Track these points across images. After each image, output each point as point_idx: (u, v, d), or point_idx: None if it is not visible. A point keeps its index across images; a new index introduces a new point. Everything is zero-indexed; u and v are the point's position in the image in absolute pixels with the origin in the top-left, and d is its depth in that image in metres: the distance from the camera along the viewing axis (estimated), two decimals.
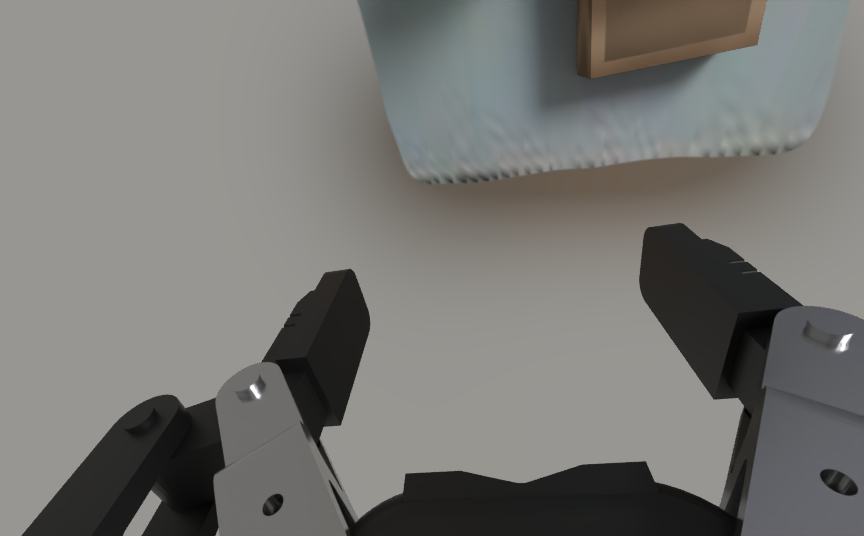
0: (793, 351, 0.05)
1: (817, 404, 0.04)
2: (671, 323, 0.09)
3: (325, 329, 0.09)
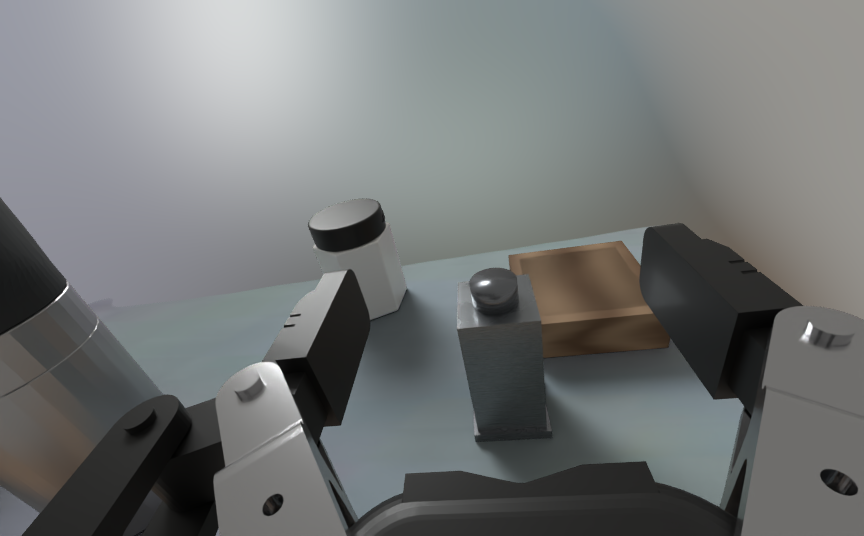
0: (793, 351, 0.05)
1: (817, 404, 0.04)
2: (671, 323, 0.09)
3: (325, 329, 0.09)
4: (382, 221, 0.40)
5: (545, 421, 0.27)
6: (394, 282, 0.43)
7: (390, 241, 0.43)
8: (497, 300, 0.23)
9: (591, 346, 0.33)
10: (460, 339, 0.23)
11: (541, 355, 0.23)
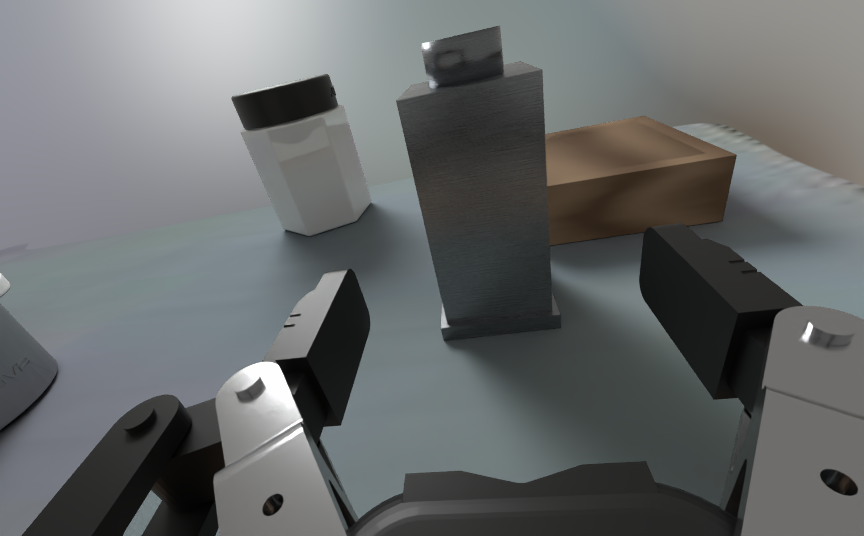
0: (793, 351, 0.05)
1: (817, 404, 0.04)
2: (671, 323, 0.09)
3: (325, 329, 0.09)
4: (330, 94, 0.31)
5: (550, 299, 0.17)
6: (350, 183, 0.34)
7: (345, 129, 0.33)
8: (466, 49, 0.13)
9: (612, 223, 0.23)
10: (404, 126, 0.14)
11: (543, 155, 0.14)
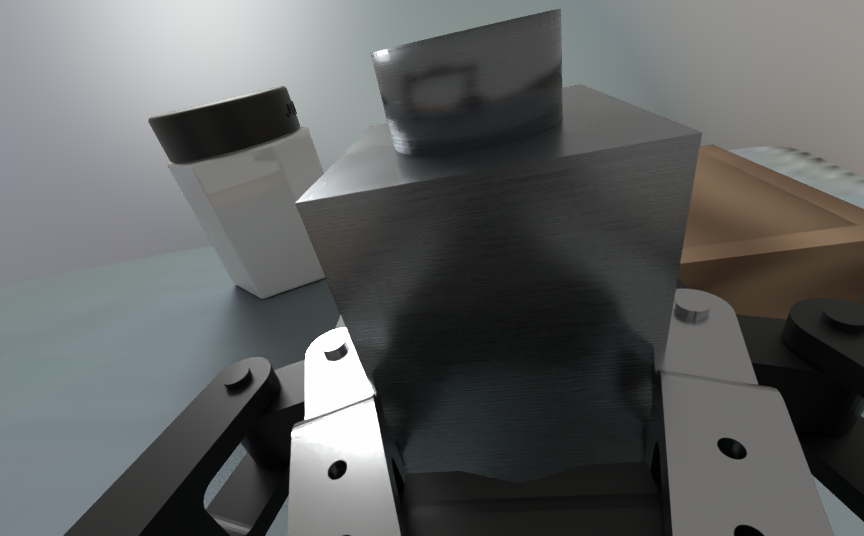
0: None
1: (700, 379, 0.05)
2: None
3: None
4: (287, 114, 0.23)
5: None
6: None
7: (309, 158, 0.25)
8: (478, 69, 0.05)
9: None
10: (323, 258, 0.05)
11: (663, 325, 0.06)
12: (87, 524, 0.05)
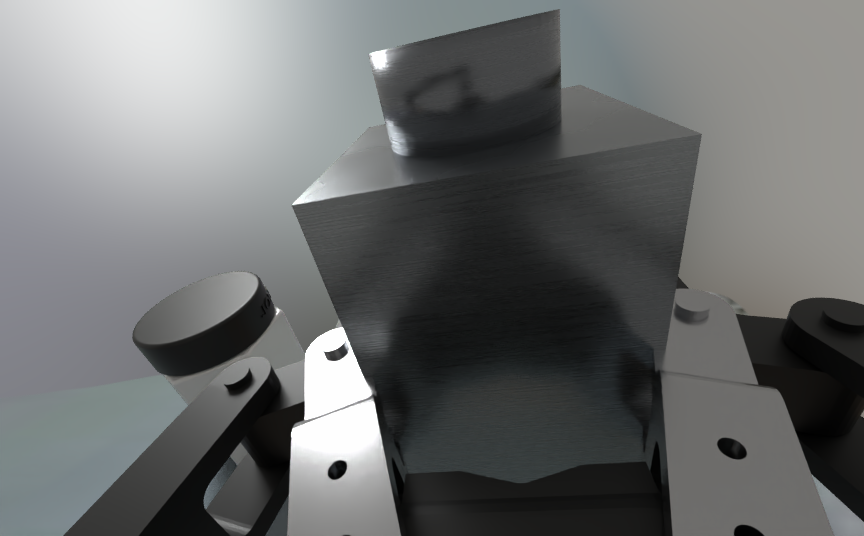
0: None
1: (700, 378, 0.05)
2: None
3: None
4: (261, 316, 0.25)
5: None
6: None
7: (284, 339, 0.27)
8: (477, 71, 0.05)
9: None
10: (320, 260, 0.05)
11: (662, 328, 0.06)
12: (87, 524, 0.05)
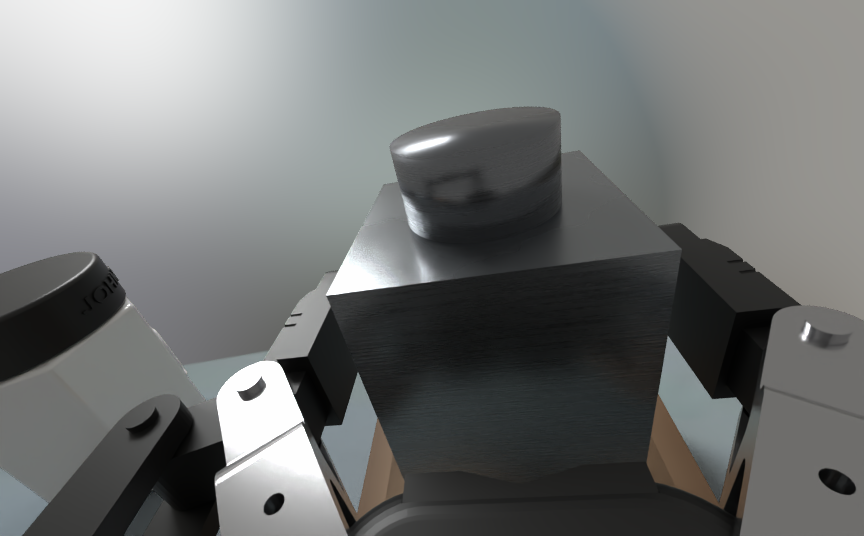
0: (791, 350, 0.05)
1: (815, 403, 0.04)
2: (670, 323, 0.09)
3: (326, 328, 0.09)
4: (81, 313, 0.17)
5: None
6: None
7: (135, 346, 0.20)
8: (488, 179, 0.06)
9: None
10: (348, 338, 0.06)
11: (651, 395, 0.06)
12: None
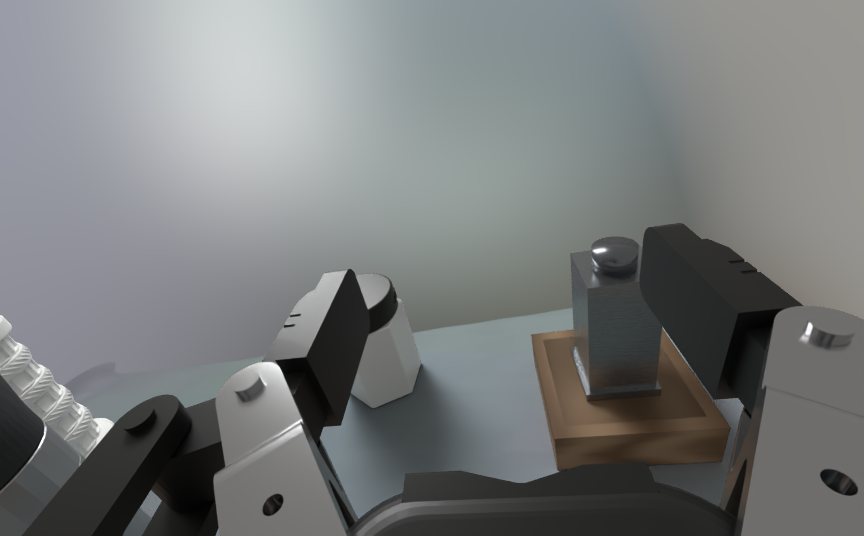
0: (793, 351, 0.05)
1: (817, 404, 0.04)
2: (671, 323, 0.09)
3: (325, 329, 0.09)
4: (394, 302, 0.38)
5: (655, 379, 0.29)
6: (407, 363, 0.40)
7: (403, 320, 0.40)
8: (624, 262, 0.25)
9: (632, 459, 0.29)
10: (588, 298, 0.26)
11: None
12: None
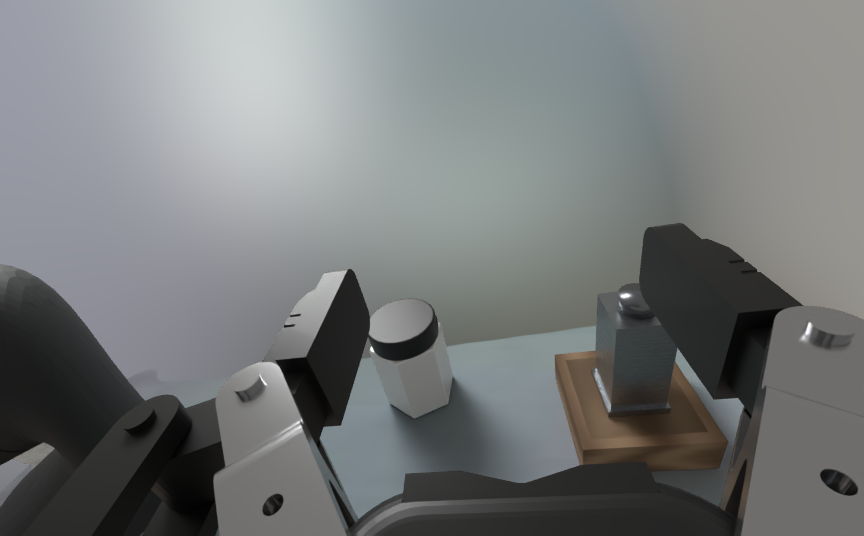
0: (793, 351, 0.05)
1: (817, 404, 0.04)
2: (672, 323, 0.09)
3: (325, 329, 0.09)
4: (436, 327, 0.43)
5: (666, 400, 0.35)
6: (445, 379, 0.45)
7: (441, 341, 0.45)
8: (646, 308, 0.31)
9: None
10: (616, 337, 0.31)
11: (675, 348, 0.32)
12: None
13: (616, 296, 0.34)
